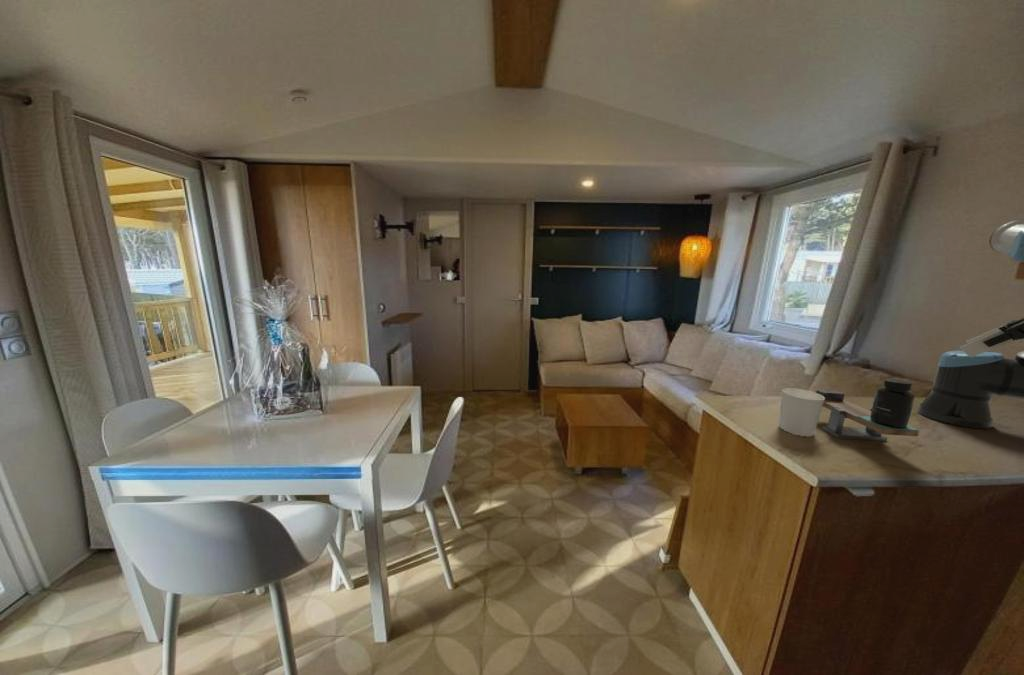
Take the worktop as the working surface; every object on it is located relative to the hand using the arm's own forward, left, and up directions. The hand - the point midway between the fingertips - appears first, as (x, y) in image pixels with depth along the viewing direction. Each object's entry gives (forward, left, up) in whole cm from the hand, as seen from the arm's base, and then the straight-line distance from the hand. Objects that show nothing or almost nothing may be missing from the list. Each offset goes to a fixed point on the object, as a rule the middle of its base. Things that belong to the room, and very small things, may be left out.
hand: (968, 348), depth 78 cm
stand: (+6, -16, -31) cm, 35 cm away
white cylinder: (+22, -16, -31) cm, 41 cm away
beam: (+6, -16, -25) cm, 30 cm away
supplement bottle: (+6, -7, -23) cm, 25 cm away
